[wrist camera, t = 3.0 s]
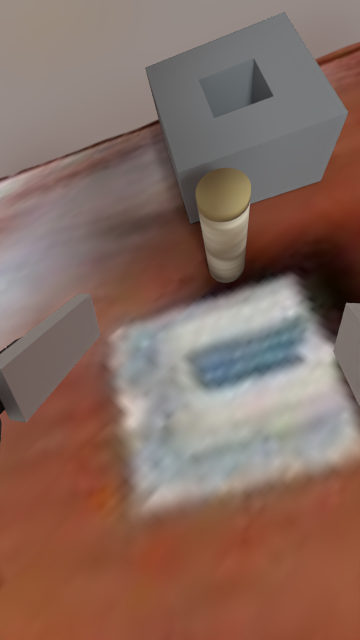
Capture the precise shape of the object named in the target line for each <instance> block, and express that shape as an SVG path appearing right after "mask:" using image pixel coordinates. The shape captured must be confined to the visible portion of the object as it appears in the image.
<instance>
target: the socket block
mask: <svg viewBox="0 0 360 640" xmlns="http://www.w3.org/2000/svg"><path fill="white" fill-rule="evenodd" d="M146 72H147V76H148V80H149V84H150V87H151V91H152V95H153V99H154V103H155V106H156V110H157V114H158V118H159V122H160V126H161V129H162V133H163V136H164V140H165V143H166V146H167V149H168V153H169V156H170V159H171V163H172V166H173V169H174V172H175V176H176V179H177V182H178V185H179V189H180V192H181V195H182V198H183V202H184V205H185V208H186V212H187V215H188V218H189V221H190V224H191V223H194V222H197V221H200V217H199V212H198V206H197V201H196V194H195V193H196V187H197V185H198V183H199V181H200V180H201V179H202V178H203V177H204V176H205V175H206V174H207V173H209V172H211V171H213V170H216V169H219V168H234V169H237V170H239V171H241V172H243V173H244V174H245V175H246V176H247V177H248V179H249V180H250V183H251V196H250V204H252V203H255V202H258V201H261V200H264V199H267V198H270V197H273V196H276V195H279V194H282V193H285V192H288V191H291V190H294V189H297V188H300V187H303V186H306V185H309V184H312V183H315V182H318V181H321V179H322V176H323V174H324V171H325V169H326V167H327V164H328V162H329V159H330V157H331V154H332V152H333V149H334V147H335V144H336V142H337V139H338V137H339V135H340V132H341V130H342V127H343V125H344V122H345V120H346V117H347V115H348V111H347V110H346V108H345V107H344V105H343V103H342V102H341V100H340V99H339V97H338V95H337V94H336V92H335V91H334V89H333V88H332V86H331V84H330V83H329V81H328V80H327V78H326V77H325V75H324V73H323V72H322V70H321V69H320V67H319V65H318V64H317V62H316V61H315V59H314V58H313V56H312V54H311V53H310V51H309V50H308V48H307V47H306V45H305V44H304V42H303V40H302V39H301V37H300V36H299V34H298V32H297V31H296V29H295V28H294V26H293V24H292V23H291V21H290V20H289V18H288V17H287V15H286V13H285V12H284V13H281V14H278V15H276V16H273V17H271V18H268V19H266V20H263V21H261V22H258V23H256V24H254V25H251V26H248V27H246V28H243V29H241V30H238V31H236V32H233V33H231V34H228V35H226V36H223V37H221V38H219V39H216V40H213V41H211V42H208V43H206V44H204V45H201V46H198V47H196V48H193V49H191V50H188V51H186V52H183V53H181V54H178V55H176V56H173V57H171V58H169V59H166V60H163V61H161V62H158V63H156V64H153V65H151V66H148V67H146Z"/></svg>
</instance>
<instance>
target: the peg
mask: <svg viewBox="0 0 360 640" xmlns="http://www.w3.org/2000/svg"><path fill="white" fill-rule="evenodd" d="M195 194H196V201H197V206H198V212H199V217H200V223H201V229H202V234H203V240H204V245H205V251H206V256H207V262H208V267H209V272H210V274H211V276H212V277H213V278H214V279H215V280H217V281H220V282H232V281H234V280H236V279H238V278H239V277H240V276H241V274H242V273H243V270H244V263H245V252H246V241H247V230H248V218H249V207H250V196H251V183H250V180H249V179H248V177H247V176H246V175H245V174H244V173H243V172H241V171H239V170H237V169H234V168H219V169H216V170H213V171H211V172H209V173H207V174H206V175H205V176H204V177H203V178H202V179H201V180H200V181H199V183H198V185H197V187H196V193H195Z"/></svg>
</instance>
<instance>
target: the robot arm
mask: <svg viewBox="0 0 360 640" xmlns="http://www.w3.org/2000/svg"><path fill="white" fill-rule="evenodd" d="M99 336H100V331H99V327H98V323H97V319H96V314H95V310H94V306H93V301H92V297H91V294H78V295H76V296H75V297H74V298H72V299H71V300H70V301H68V302H67V303H66V304H65V305H63V306H62V307H61V308H59V309H58V310H57V311H55V312H54V313H53V314H52V315H50V316H49V317H48V318H46V319H45V320H44V321H42V322H41V323H40V324H39V325H37V326H36V327H35V328H33V329H32V330H31V331H29V332H28V333H27V334H26V335H24V336H23V337H21V338H19V339H17V340H15V341H14V342H12V343H11V344H10V345H8V346H7V348H4V349H3V350H2V351H0V414H1V413H2V412H3V411H4V410H5V411H6V412H7V414H8V416H9V418H10V420H15V421H21V422H27V421H28V420H29V419H30V417H31V416H32V415H33V414H34V413H35V412H36V410H37V409H38V408H39V407H40V406H41V404H42V403H43V402H44V401H45V400H46V399H47V397H48V396H49V395H50V394H51V393H52V392H53V390H54V389H55V388H56V387H57V386H58V385H59V383H60V382H61V381H62V380H63V379H64V377H65V376H66V375H67V374H68V373H69V372H70V370H71V369H72V368H73V367H74V366H75V365H76V363H77V362H78V361H79V360H80V359H81V358H82V356H83V355H84V354H85V353H86V352H87V350H88V349H89V348H90V347H91V346H92V345H93V343H94V342H95V341H96V340H97V339H98V338H99ZM333 352H334V354H335V356H336V358H337V360H338V362H339V364H340V366H341V368H342V370H343V372H344V374H345V377H346V379H347V381H348V383H349V385H350V387H351V389H352V391H353V393H354V395H355V397H356V399H357V402H358V404H359V406H360V304H356V303H346V306H345V310H344V314H343V318H342V321H341V325H340V329H339V332H338V336H337V340H336V344H335V347H334V351H333ZM0 441H1V419H0Z"/></svg>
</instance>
